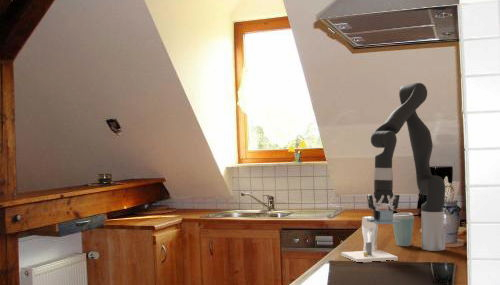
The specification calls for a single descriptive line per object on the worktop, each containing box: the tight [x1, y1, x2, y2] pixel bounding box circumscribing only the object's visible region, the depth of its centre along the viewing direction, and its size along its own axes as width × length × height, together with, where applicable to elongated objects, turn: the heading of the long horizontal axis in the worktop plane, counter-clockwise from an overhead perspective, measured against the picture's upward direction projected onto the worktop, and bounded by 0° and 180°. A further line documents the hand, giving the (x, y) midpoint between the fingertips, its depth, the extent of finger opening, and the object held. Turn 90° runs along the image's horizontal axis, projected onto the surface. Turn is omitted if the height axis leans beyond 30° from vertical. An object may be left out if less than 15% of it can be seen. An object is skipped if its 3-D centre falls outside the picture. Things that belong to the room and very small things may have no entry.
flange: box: [367, 209, 400, 225], centre depth 237 cm, size 10×10×5 cm
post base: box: [340, 242, 399, 263], centre depth 237 cm, size 18×16×6 cm
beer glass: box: [361, 215, 379, 251], centre depth 254 cm, size 7×7×15 cm
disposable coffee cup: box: [392, 212, 415, 247], centre depth 268 cm, size 11×11×15 cm
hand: (383, 219), depth 237 cm, fingers closed on flange, 5 cm apart
